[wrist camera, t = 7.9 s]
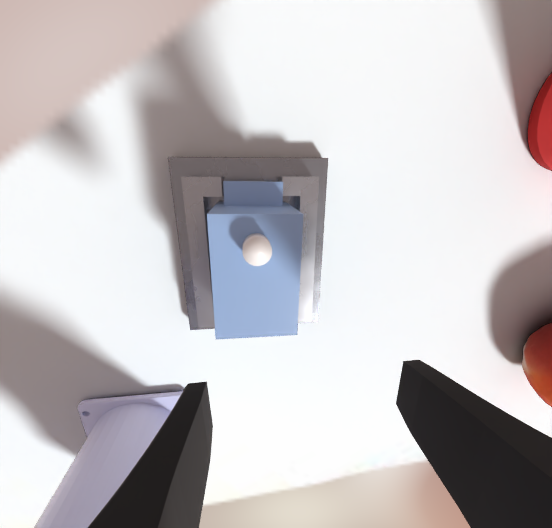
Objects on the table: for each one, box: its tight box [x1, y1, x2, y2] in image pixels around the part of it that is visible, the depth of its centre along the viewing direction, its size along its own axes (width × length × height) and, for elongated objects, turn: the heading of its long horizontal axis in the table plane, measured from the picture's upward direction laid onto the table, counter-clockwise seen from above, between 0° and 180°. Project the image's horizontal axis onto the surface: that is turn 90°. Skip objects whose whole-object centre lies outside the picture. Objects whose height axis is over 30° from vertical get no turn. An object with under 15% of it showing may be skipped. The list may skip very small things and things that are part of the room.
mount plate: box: [168, 157, 328, 330], centre depth 16 cm, size 11×9×2 cm
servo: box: [207, 181, 304, 339], centre depth 14 cm, size 8×4×6 cm, turn 179°
